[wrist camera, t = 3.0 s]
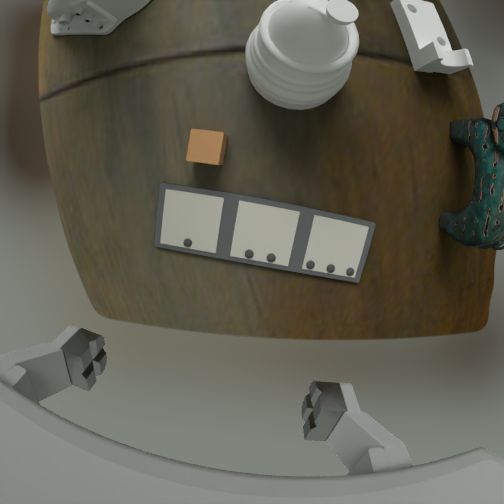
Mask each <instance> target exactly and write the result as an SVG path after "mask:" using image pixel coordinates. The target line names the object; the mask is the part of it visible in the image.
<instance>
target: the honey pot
mask: <svg viewBox="0 0 504 504" xmlns="http://www.w3.org/2000/svg"><path fill="white" fill-rule="evenodd" d="M357 18H358V10H357V8H356V7H355V6H354V5H353V4H352V3H351V2H349V1H347V0H330V1H328V0H278V1H276V2H274V3H273V4H271V5H270V6H269V7H268V8H267V9H266V10H265V11H264V13H263V15H262V17H261V20H260V22H259V24H258V26H257V27H256V28H255V29H254V30H253V32H252V33H251V34H250V37H249V39H248V42H247V44H246V53H245V58H246V65H247V71H248V74H249V78H250V81H251V83H252V84H253V86H254V88H255V89H256V91H257V92H258V93H259V94H260V95H262V96H263V97H264V98H265V99H266V100H268V101H270V102H271V103H273V104H275V105H277V106H280V107H284V108H287V109H295V110H304V109H310V108H314V107H317V106H319V105H322V104H324V103H325V102H326V101H328V100H329V99H330V98H331V97H333V96H334V95H335V94H336V93H337V92H338V91H339V90H340V89H341V88H342V87H343V85H344V84H345V83H346V81H347V80H348V78H349V74H350V71H351V67H352V60H353V58H354V57H355V55H356V54H357V50H358V46H359V34H358V31H357V29H356V26H355V24H354V21H355V20H356V19H357ZM345 26H346V27H345ZM346 29H347V30H346ZM347 31H348V33H347ZM348 34H349V38H348Z"/></svg>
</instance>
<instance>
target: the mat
mask: <svg viewBox="0 0 504 504" xmlns="http://www.w3.org/2000/svg"><path fill="white" fill-rule="evenodd" d="M375 225H376V223H374V222H370V221H366V220H362V219H358V218H353V217H349V216H345V215H340V214H336V213H331V212H327V211H322V210H318V209H313V208H308V207H303V206H298V205H294V204H288V203H283V202H278V201H273V200H268V199H262V198H257V197H251V196H246V195H240V194H234V193H228V192H222V191H216V190H209V189H203V188H196V187H190V186H183V185H175V184H168V183H160V189H159V197H158V206H157V216H156V227H155V239H154V246H155V247H161V248H166V249H171V250H176V251H182V252H187V253H192V254H198V255H203V256H209V257H214V258H220V259H225V260H231V261H236V262H242V263H247V264H253V265H258V266H264V267H270V268H275V269H281V270H287V271H293V272H298V273H304V274H310V275H316V276H322V277H327V278H333V279H339V280H345V281H351V282H357V283H359V281H360V278H361V274H362V271H363V268H364V265H365V261H366V258H367V254H368V251H369V247H370V244H371V240H372V236H373V233H374V229H375Z"/></svg>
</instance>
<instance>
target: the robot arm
mask: <svg viewBox="0 0 504 504" xmlns="http://www.w3.org/2000/svg"><path fill="white" fill-rule="evenodd" d="M150 1H151V0H49V3H48V7H47V13H48V16H49V17H50V18H51V19H52V22H51V33H52V34H53V35H107V34H109V33H111V32H112V31H113V30H114V29H115V28H116V27H117V26H118V25H119V24H120V23H121V22H122V21H123V20H125V19H126V18H128V17H129V16H131V15H133V14H134V13H136V12H137V11H139V10H140V9H142V8H143V7H144V6H145V5H146V4H148V3H149V2H150ZM102 27H103V28H102ZM101 28H102V29H101ZM104 345H105V341H104V337H103V336H101V335H98V334H96V333H93V332H91V331H88V330H86V329H83V328H80V327H78V326H75V325H70V326H68V327H67V328H66V329H65V330H64V331H63V332H62V333H61V334H60V335H59V336H58V337H57V338H56V339H55V340H54V341H53V342H51V343H50V344H49V343H44V344H41V345H37V346H33V347H29V348H25V349H21V350H17V351H13V352H9V353H5V354H2V355H1V356H0V504H504V460H503V459H502V458H500V457H499V456H497V455H496V454H494V453H492V452H491V451H489V450H487V449H485V448H476V449H472V450H469V451H466V452H463V453H461V454H457V455H454V456H451V457H447V458H444V459H440V460H437V461H433V462H429V463H425V464H420V465H416V466H413V465H412V462H411V460H410V457H409V454H408V452H407V449H406V447H405V444H404V443H403V442H402V441H400V440H399V439H398V438H396V437H395V436H394V435H392V434H391V433H390V432H389V431H387V430H386V429H385V428H384V427H382V426H381V425H380V424H379V423H377V422H376V421H375V420H374V419H372V418H371V417H370V416H369V415H368V414H366V413H365V412H361V410H360V407H359V404H358V402H357V399H356V396H355V393H354V390H353V387H352V385H351V384H350V383H333V382H320V381H313V382H312V383H311V385H310V387H309V390H310V394H308V395H307V396H306V397H305V399H304V401H303V405H302V419H303V420H304V421H305V424H304V426H303V429H304V438H305V440H318V441H319V440H320V441H326V443H327V444H328V445H329V447H330V448H331V449H332V450H333V452H334V453H335V454H336V455H337V456H338V458H339V459H340V460H341V461H342V462H343V464H344V465H345V466H346V467H347V468H348V470H349V471H350V472H349V473H348V474H347V475H345V476H327V477H326V476H323V477H295V476H294V477H293V476H272V475H260V474H250V473H242V472H234V471H227V470H221V469H215V468H209V467H204V466H199V465H194V464H189V463H185V462H181V461H177V460H173V459H169V458H166V457H162V456H159V455H155V454H152V453H149V452H145V451H142V450H139V449H136V448H133V447H130V446H128V445H125V444H122V443H119V442H117V441H114V440H112V439H109V438H106V437H104V436H102V435H99V434H97V433H95V432H92V431H90V430H88V429H86V428H83V427H81V426H79V425H77V424H75V423H73V422H71V421H69V420H67V419H65V418H63V417H61V416H59V415H57V414H55V413H53V412H52V411H50V410H48V409H46V408H44V407H43V406H41V405H40V404H39V401H41V400H43V399H45V398H47V397H49V396H51V395H53V394H55V393H57V392H59V391H61V390H63V389H65V388H67V387H69V386H71V385H75V386H77V387H79V388H82V389H84V390H87V391H90V389H91V388H92V387H93V385H94V384H95V382H96V377H95V376H98V375H101V374H102V372H103V371H104V369H105V366H106V359H107V356H106V352H105V351H104V349H103V346H104Z"/></svg>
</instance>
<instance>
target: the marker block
mask: <svg viewBox="0 0 504 504" xmlns="http://www.w3.org/2000/svg"><path fill="white" fill-rule="evenodd" d="M227 138H228V135H226V134H225V133H224V132H216V131H208V130H199V129H191V133H190V139H189V145H188V151H187V157H186V161H192V162H200V163H207V164H214V165H223V161H224V155H225V150H226V144H227Z"/></svg>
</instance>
